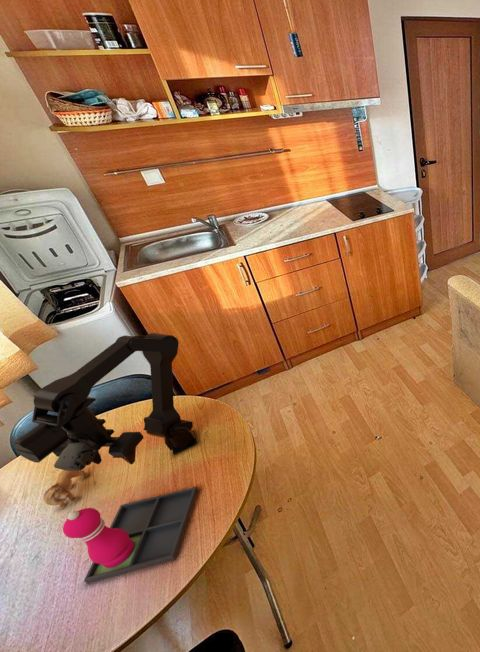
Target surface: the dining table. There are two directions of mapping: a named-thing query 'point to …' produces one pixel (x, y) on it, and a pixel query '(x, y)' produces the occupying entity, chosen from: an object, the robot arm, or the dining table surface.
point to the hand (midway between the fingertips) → (116, 462)
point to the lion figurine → (62, 489)
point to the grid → (149, 532)
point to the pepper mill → (99, 537)
